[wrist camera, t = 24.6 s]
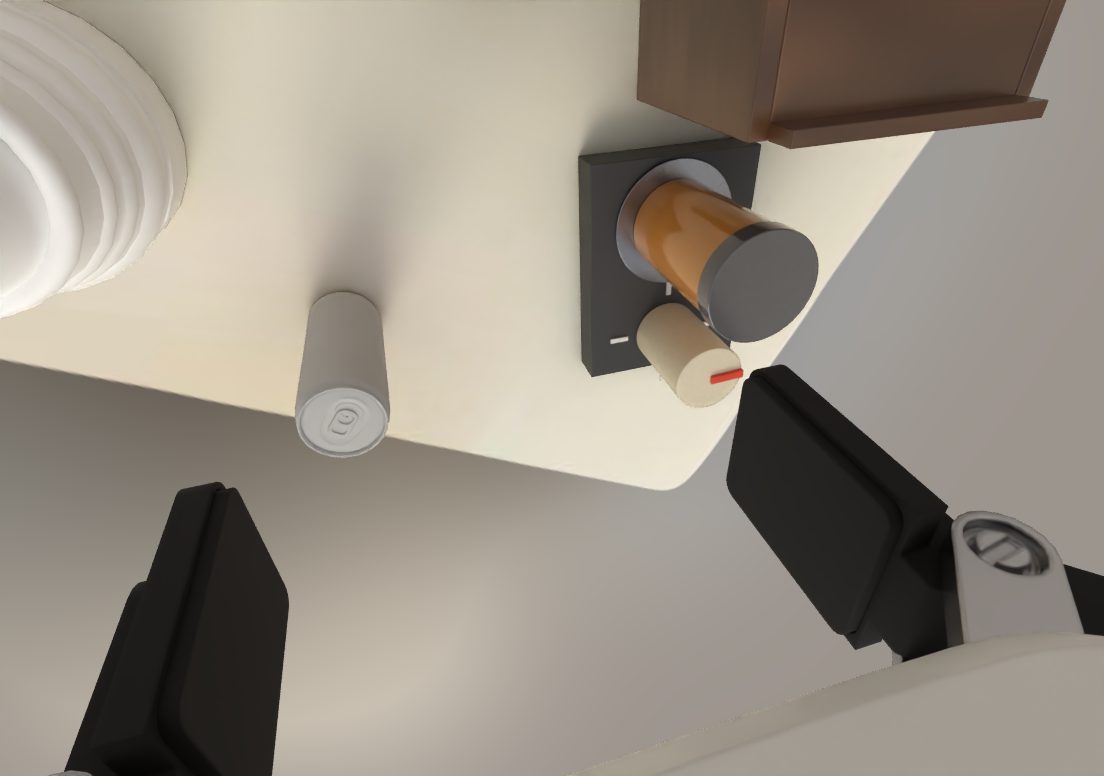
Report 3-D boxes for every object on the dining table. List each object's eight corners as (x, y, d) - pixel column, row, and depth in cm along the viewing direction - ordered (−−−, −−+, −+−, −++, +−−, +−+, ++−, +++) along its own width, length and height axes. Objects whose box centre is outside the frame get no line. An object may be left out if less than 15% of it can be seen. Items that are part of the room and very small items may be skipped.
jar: (632, 181, 37) (715, 238, 29) (725, 169, 39) (831, 220, 30) (628, 276, 41) (701, 352, 32) (713, 262, 42) (805, 332, 34)
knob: (636, 363, 46) (677, 417, 40) (636, 309, 43) (680, 359, 37) (692, 350, 47) (740, 401, 41) (695, 296, 44) (747, 343, 38)
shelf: (643, -104, 32) (821, -160, 20) (892, -110, 35) (1175, -161, 23) (636, 100, 37) (769, 152, 25) (850, 78, 40) (1058, 115, 29)
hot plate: (578, 156, 38) (591, 165, 36) (741, 136, 41) (762, 144, 38) (581, 376, 48) (592, 394, 46) (712, 350, 51) (728, 366, 49)
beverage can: (393, 306, 40) (407, 404, 31) (362, 360, 42) (366, 469, 33) (325, 275, 38) (317, 371, 28) (295, 334, 40) (278, 444, 30)
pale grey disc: (616, 165, 37) (617, 166, 36) (738, 150, 38) (740, 151, 38) (613, 289, 42) (615, 291, 41) (722, 271, 43) (724, 273, 43)
